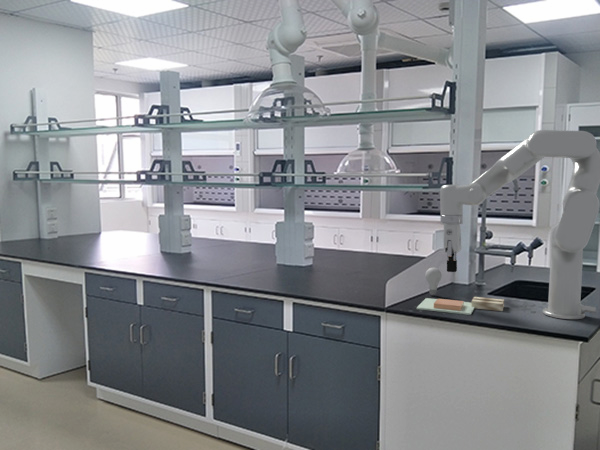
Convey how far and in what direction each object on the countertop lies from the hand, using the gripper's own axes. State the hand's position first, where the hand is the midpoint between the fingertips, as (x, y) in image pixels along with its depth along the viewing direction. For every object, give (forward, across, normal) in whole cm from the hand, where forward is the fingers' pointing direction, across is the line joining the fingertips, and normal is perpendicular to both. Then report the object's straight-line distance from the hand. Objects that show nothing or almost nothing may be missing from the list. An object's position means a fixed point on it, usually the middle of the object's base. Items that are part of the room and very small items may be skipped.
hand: (451, 271), depth 190 cm
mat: (+12, -3, +1) cm, 13 cm away
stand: (+13, +3, -12) cm, 18 cm away
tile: (+11, -5, +5) cm, 13 cm away
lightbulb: (+12, +14, +9) cm, 20 cm away
